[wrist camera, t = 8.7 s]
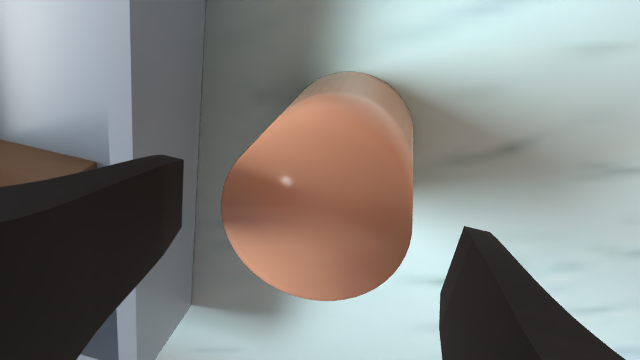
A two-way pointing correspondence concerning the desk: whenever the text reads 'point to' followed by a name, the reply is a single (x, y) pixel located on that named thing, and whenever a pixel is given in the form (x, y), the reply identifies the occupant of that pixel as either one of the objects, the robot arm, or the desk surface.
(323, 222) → the terracotta cylinder
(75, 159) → the walnut cube
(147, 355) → the tote
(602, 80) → the desk surface
